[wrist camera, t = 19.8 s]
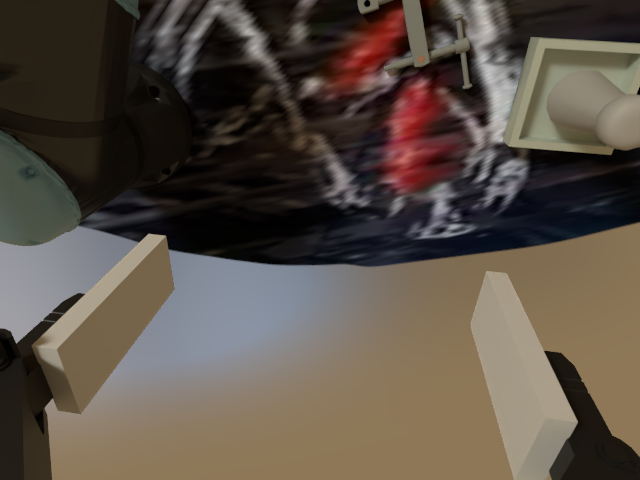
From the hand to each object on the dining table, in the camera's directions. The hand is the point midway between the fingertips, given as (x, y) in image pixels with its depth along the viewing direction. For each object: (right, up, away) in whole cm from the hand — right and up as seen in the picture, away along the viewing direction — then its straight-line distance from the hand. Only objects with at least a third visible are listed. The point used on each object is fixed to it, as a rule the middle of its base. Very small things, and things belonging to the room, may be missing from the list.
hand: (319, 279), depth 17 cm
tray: (+26, +17, +27) cm, 41 cm away
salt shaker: (+26, +17, +26) cm, 41 cm away
